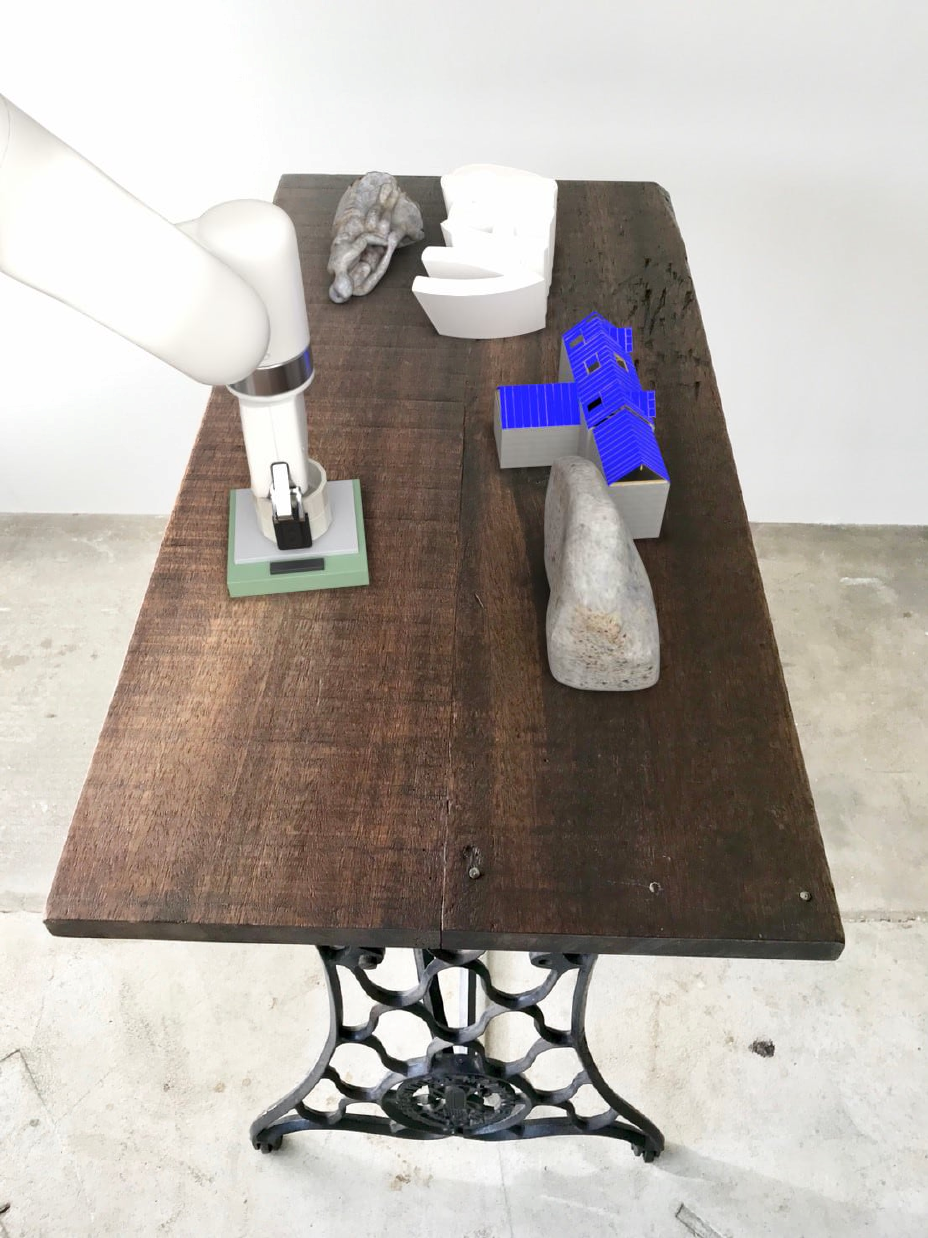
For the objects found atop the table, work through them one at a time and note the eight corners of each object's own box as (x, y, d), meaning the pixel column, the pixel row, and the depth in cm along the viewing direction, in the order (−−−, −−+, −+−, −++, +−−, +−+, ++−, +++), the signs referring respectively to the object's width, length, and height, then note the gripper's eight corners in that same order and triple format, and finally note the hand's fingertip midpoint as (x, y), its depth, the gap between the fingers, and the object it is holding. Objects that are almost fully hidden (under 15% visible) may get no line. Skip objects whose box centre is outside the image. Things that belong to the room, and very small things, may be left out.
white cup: (259, 552, 91) (250, 507, 87) (260, 502, 95) (251, 458, 91) (333, 545, 91) (327, 501, 87) (330, 496, 96) (324, 452, 92)
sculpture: (379, 347, 126) (294, 310, 124) (416, 258, 135) (337, 222, 133) (401, 287, 117) (309, 246, 115) (439, 195, 126) (354, 155, 124)
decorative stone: (661, 710, 82) (544, 714, 82) (625, 544, 95) (524, 548, 95) (697, 577, 70) (559, 582, 69) (650, 407, 82) (533, 410, 82)
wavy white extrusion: (535, 368, 114) (541, 287, 107) (400, 353, 116) (395, 272, 108) (568, 226, 137) (575, 150, 129) (454, 215, 139) (454, 140, 131)
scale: (230, 597, 91) (225, 578, 89) (233, 504, 99) (229, 485, 97) (369, 584, 92) (367, 565, 90) (360, 493, 100) (358, 474, 98)
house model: (664, 536, 96) (681, 458, 88) (514, 546, 95) (518, 467, 88) (616, 386, 112) (627, 309, 105) (487, 393, 111) (489, 316, 104)
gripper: (223, 306, 85) (256, 463, 98) (216, 430, 73) (254, 588, 87) (309, 300, 85) (330, 457, 99) (316, 422, 74) (338, 580, 88)
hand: (294, 517), depth 93 cm, fingers closed on white cup, 7 cm apart
